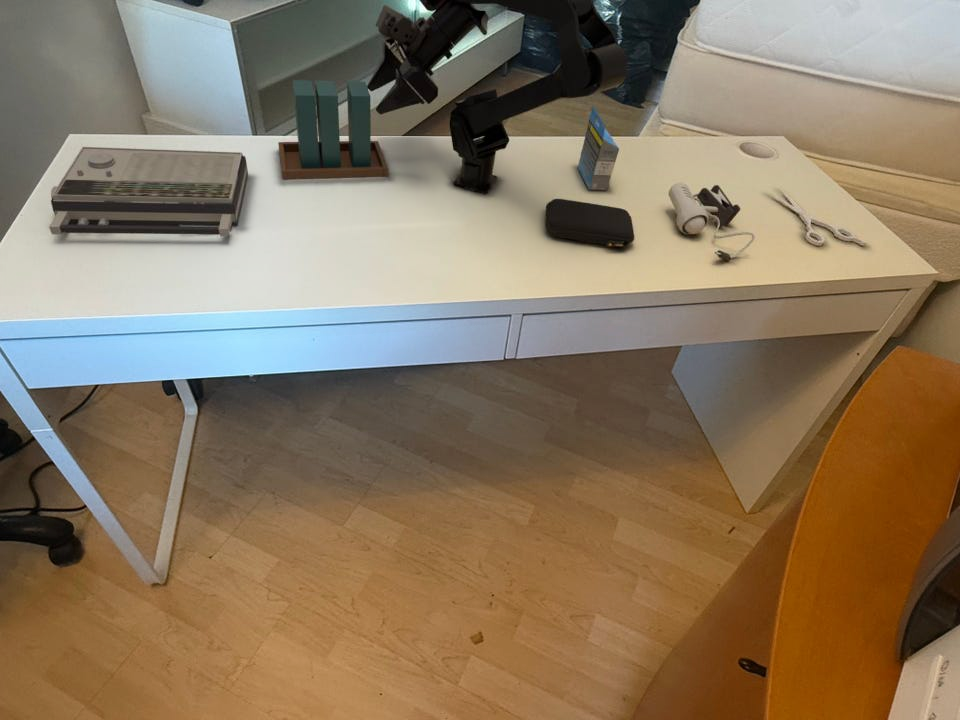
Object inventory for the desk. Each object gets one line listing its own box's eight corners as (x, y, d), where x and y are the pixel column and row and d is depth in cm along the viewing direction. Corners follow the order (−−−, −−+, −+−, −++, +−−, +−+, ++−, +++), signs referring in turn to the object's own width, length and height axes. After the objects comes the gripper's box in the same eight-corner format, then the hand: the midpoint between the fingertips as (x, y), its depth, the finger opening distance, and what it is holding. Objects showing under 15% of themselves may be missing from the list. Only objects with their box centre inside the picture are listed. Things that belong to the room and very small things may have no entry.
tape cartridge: (608, 191, 114) (627, 126, 105) (588, 190, 113) (605, 125, 105) (595, 168, 120) (612, 105, 111) (576, 167, 119) (591, 104, 111)
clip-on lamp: (749, 274, 105) (710, 200, 114) (773, 248, 100) (730, 173, 109) (691, 272, 101) (656, 195, 110) (713, 245, 96) (674, 167, 105)
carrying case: (542, 242, 99) (633, 256, 99) (546, 226, 97) (638, 240, 97) (544, 209, 106) (628, 222, 107) (547, 193, 104) (633, 206, 104)
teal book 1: (317, 155, 109) (312, 80, 100) (320, 171, 105) (315, 95, 96) (299, 155, 108) (292, 80, 99) (302, 172, 104) (295, 95, 95)
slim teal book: (366, 154, 112) (365, 81, 103) (371, 170, 108) (371, 96, 99) (349, 155, 111) (346, 81, 102) (353, 171, 107) (351, 95, 98)
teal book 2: (337, 155, 110) (334, 80, 101) (341, 171, 106) (338, 95, 97) (319, 155, 109) (314, 80, 100) (323, 171, 105) (318, 95, 96)
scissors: (821, 247, 107) (751, 188, 119) (819, 251, 107) (750, 192, 120) (867, 242, 110) (794, 185, 123) (864, 246, 110) (792, 189, 123)
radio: (244, 146, 99) (228, 212, 85) (248, 176, 103) (234, 244, 89) (76, 139, 94) (30, 208, 80) (87, 171, 98) (45, 242, 84)
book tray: (378, 151, 114) (378, 140, 113) (388, 179, 107) (388, 168, 106) (279, 153, 109) (278, 141, 108) (283, 182, 102) (281, 171, 101)
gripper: (397, -29, 98) (330, 43, 103) (421, 8, 86) (344, 87, 91) (441, 27, 106) (377, 91, 111) (469, 68, 94) (396, 138, 98)
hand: (373, 100), depth 102 cm, fingers open, 9 cm apart
